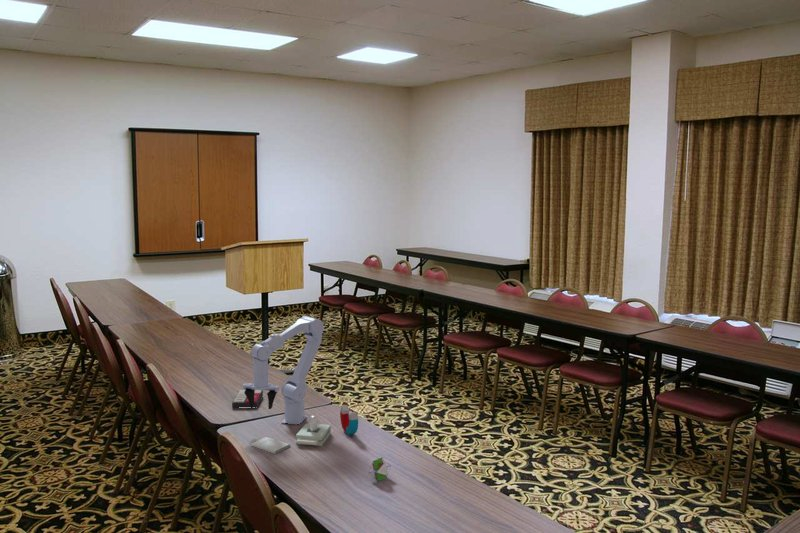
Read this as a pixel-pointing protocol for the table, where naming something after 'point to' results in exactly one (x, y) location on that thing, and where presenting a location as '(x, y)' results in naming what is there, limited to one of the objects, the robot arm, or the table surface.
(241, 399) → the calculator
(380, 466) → the geometric puzzle
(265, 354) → the robot arm
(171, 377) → the table surface
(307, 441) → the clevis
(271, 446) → the external hard drive
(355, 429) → the magnet
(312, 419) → the pin
